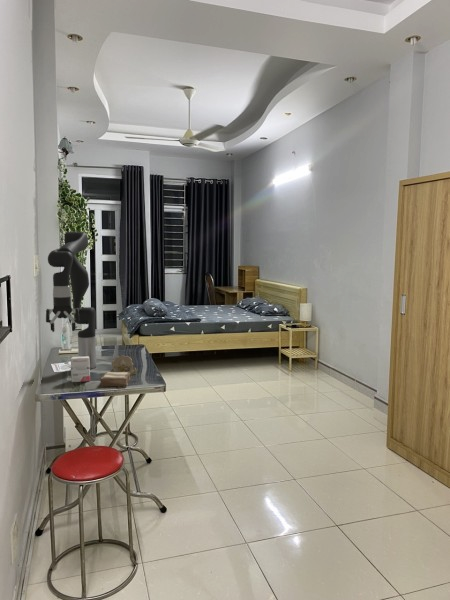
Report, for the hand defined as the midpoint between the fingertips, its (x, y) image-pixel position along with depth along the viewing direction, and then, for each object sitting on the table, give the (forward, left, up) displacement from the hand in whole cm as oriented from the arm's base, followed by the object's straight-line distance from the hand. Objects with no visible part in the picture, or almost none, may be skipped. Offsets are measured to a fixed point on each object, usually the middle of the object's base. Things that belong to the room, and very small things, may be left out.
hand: (63, 331), depth 211 cm
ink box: (-15, +3, -28) cm, 31 cm away
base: (-11, +21, -27) cm, 36 cm away
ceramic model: (-29, +21, -28) cm, 45 cm away
